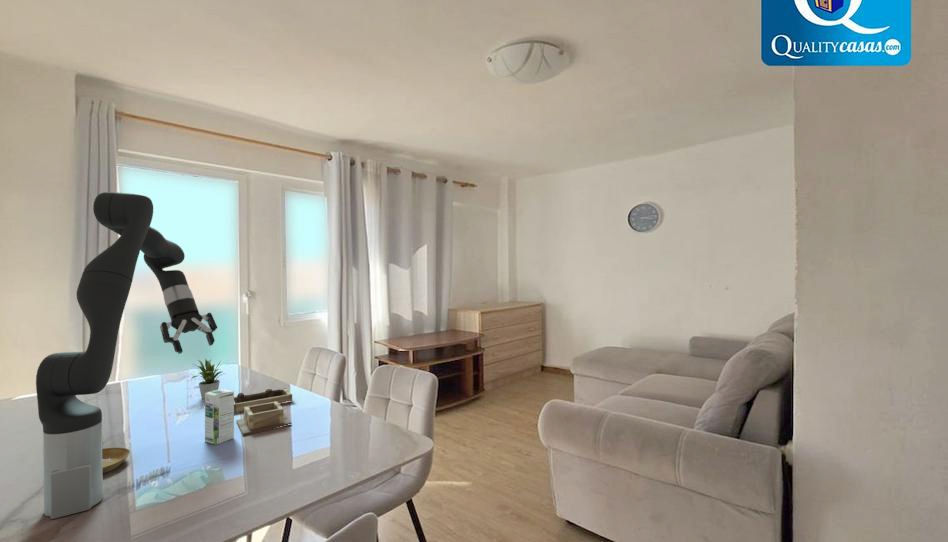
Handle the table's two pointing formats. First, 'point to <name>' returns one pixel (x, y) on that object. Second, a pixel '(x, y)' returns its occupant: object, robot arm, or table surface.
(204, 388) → the house plant
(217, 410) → the syrup box
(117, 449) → the plant saucer
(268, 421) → the socket
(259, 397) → the bolt
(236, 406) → the bolt rack
